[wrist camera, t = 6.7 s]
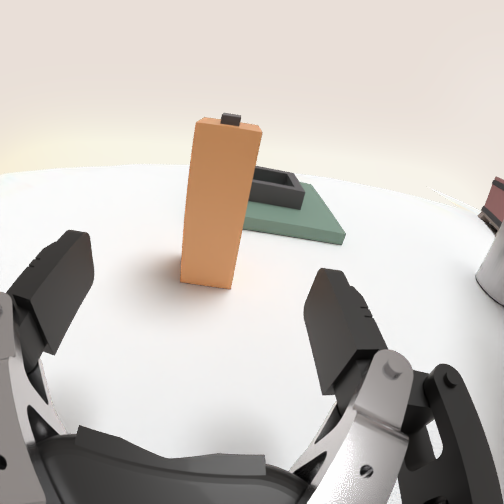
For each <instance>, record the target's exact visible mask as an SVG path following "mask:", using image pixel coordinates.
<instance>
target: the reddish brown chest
mask: <svg viewBox="0 0 504 504" xmlns="http://www.w3.org/2000/svg"><path fill="white" fill-rule="evenodd" d="M481 211H482V212H481V213H480V214H479V215H478V217H479V218H480V219H482V220H483V221H485V222H487V223H489V222H490V223H491V224H492V225H493V226H494V227H495V228H496V229H497V230H498V231H499V229H500V227H501V224H502V222H503V220H504V180H503V179H500V178H498V177H495V180H493V182H492V187H491V190H490V193H489V195H488V198H487V201H486V203H485V206H483V207H482V209H481ZM498 231H497V233H498ZM497 233H496V234H495V237H496V235H497Z"/></svg>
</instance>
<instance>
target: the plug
mask: <svg viewBox="0 0 504 504" xmlns="http://www.w3.org/2000/svg"><path fill="white" fill-rule="evenodd" d="M240 120H241V115H235V114H228V113H223V114H222V117H221V119H214V118H206V117H204V118H202V119H201V120H199V121H197V122H196V125H195V132H194V139H193V146H192V153H191V161H190V169H189V178H188V187H187V196H186V206H185V217H184V229H183V243H182V258H181V277H180V282H182V283H189V284H196V285H203V286H211V287H218V288H226V289H231V285H232V280H233V275H234V270H235V265H236V260H237V254H238V249H239V244H240V239H241V234H242V229H243V224H244V219H245V214H246V209H247V204H248V199H249V194H250V190H251V185H252V180H253V175H254V170H255V165H256V161H257V155H258V151H259V146H260V141H261V137H262V131H261V129H260V128H259V126H258V125H252V124H247V123H241V122H240Z"/></svg>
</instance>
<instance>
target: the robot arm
mask: <svg viewBox="0 0 504 504" xmlns="http://www.w3.org/2000/svg"><path fill="white" fill-rule="evenodd" d="M35 258H36V259H34V260H33V261H32V262H31V263H30V264H29V267H27V268H26V269H25V270H24V271H23V272H22V274H21V275H20V276H19V277H18V278H17V280H16V281H15V282H14V283H13V285H12V286H11V287H10V288H9V290H8V291H7V292H6V293H3V292H0V504H387V501H388V499H389V497H390V494H391V492H392V489H393V487H394V484H395V482H396V479H397V477H398V482H399V488H400V493H401V499H402V504H503V499H502V494H501V489H500V484H499V480H498V476H497V472H496V468H495V465H494V461H493V457H492V454H491V451H490V448H489V445H488V442H487V439H486V436H485V433H484V430H483V427H482V424H481V422H480V419H479V416H478V414H477V411H476V409H475V406H474V404H473V402H472V399H471V397H470V395H469V392H468V390H467V388H466V386H465V383H464V381H463V379H462V377H461V375H460V374H459V373H458V371H457V370H456V369H455V368H453V367H452V366H450V365H447V364H439V365H437V366H436V367H435V368H434V370H433V371H432V372H431V373H430V374H428V373H424V372H419V371H415V370H413V369H412V367H411V365H410V363H409V362H408V360H407V359H406V358H405V357H404V356H402V355H401V354H400V353H398V352H396V351H393V350H388V348H387V346H386V343H385V341H384V339H383V337H382V335H381V333H380V331H379V328H378V326H377V324H376V322H375V320H374V318H372V314H371V312H370V310H369V309H368V306H367V304H366V302H365V300H364V298H363V296H362V295H361V294H360V293H359V292H358V291H357V290H356V289H355V288H354V287H353V286H350V285H349V283H348V281H347V279H346V277H345V275H344V273H343V272H342V271H339V270H332V269H325V268H321V269H319V271H318V272H317V275H316V277H315V280H314V282H313V285H312V287H311V289H310V292H309V294H308V297H307V299H306V302H305V305H304V321H305V324H306V328H307V332H308V336H309V340H310V345H311V349H312V353H313V357H314V361H315V365H316V369H317V374H318V378H319V382H320V387H321V391H322V395H335V396H336V400H337V401H336V402H335V403H334V404H333V406H332V408H331V410H330V411H329V413H328V415H327V417H326V418H325V420H324V422H323V424H322V425H321V427H320V429H319V430H318V432H317V434H316V435H315V437H314V439H313V440H312V442H311V443H310V445H309V446H308V448H307V449H306V450H305V452H304V453H303V454H302V455H301V456H300V457H299V458H298V459H297V461H296V462H295V463H294V464H293V466H292V467H291V468H290V470H289V471H286V470H284V469H281V468H279V467H275V466H272V465H269V464H265V455H238V454H219V453H217V454H210V455H203V456H194V457H185V458H164V457H161V456H159V455H156V454H154V453H152V452H149V451H147V450H145V449H143V448H141V447H138V446H136V445H134V444H132V443H130V442H128V441H126V440H124V439H122V438H120V437H116V436H113V435H109V434H106V433H102V432H99V431H96V430H92V429H89V428H86V427H83V426H81V425H79V427H78V431H77V434H67V432H66V430H65V428H64V426H63V424H62V422H61V420H60V419H59V417H58V415H57V413H56V411H55V409H54V406H53V402H52V399H51V396H50V392H49V389H48V385H47V381H46V377H45V373H44V369H43V364H42V361H41V359H40V356H41V354H42V352H43V351H44V352H46V353H49V354H52V355H55V354H56V352H57V350H58V348H59V345H60V343H61V341H62V339H63V337H64V335H65V333H66V331H67V330H68V328H69V326H70V324H71V322H72V320H73V318H74V316H75V314H76V313H77V311H78V309H79V307H80V305H81V304H82V302H83V300H84V298H85V297H86V295H87V293H88V291H89V290H90V288H91V286H92V284H93V280H94V265H93V258H92V250H91V242H90V236H89V234H88V233H86V232H80V231H74V230H67V231H66V232H65V233H64V234H63V235H62V236H61V237H60V238H59V239H58V241H57V242H54V243H52V244H50V245H49V246H47V247H45V248H44V249H43V250H42V251H41V252H40V253H39V254H38V255H37V256H36V257H35ZM476 278H477V280H478V282H479V284H480V285H481V286H482V288H483V289H484V290H485V291H486V292H487V293H488V294H489V295H490V296H491V297H492V298H493V299H495V300H496V301H497V302H499V303H500V304H502V305H504V220H503V222H502V224H501V227H500V229H499V231H498V233H497V235H496V237H495V239H494V242H493V244H492V246H491V248H490V250H489V252H488V253H487V255H486V257H485V259H484V261H483V263H482V264H481V266H480V268H479V270H478V272H477V274H476ZM434 419H435V421H436V425H437V428H438V431H439V434H440V437H441V440H442V444H443V451H442V454H441V455H440V457H439V458H438V459H436V458H435V455H434V452H433V448H432V445H431V441H430V438H429V434H428V431H427V428H426V425H427V424H429V423H430V422H431V421H433V420H434Z"/></svg>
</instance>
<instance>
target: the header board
mask: <svg viewBox="0 0 504 504" xmlns="http://www.w3.org/2000/svg"><path fill="white" fill-rule="evenodd" d="M243 229H246V230H253V231H259V232H266V233H272V234H279V235H285V236H291V237H297V238H304V239H310V240H316V241H322V242H328V243H334V244H340V245H342V243H343V241H344V238H345V235H346V233H345V232H344V230H343V229H342V227H341V226H340V224H339V223H338V222H337V220H336V219H335V217H334V216H333V214H332V213H331V211H330V210H329V208H328V207H327V206H326V204H325V203H324V201H323V200H322V199H321V197H320V196H319V194H318V193H317V192H316V190H315V189H314V187H313V186H312V185H311V184H307V183H302V182H299V181H298V179H297V178H296V176H295V175H294V173H290V172H285V171H280V170H274V169H269V168H264V167H259V166H255V170H254V175H253V180H252V185H251V190H250V194H249V199H248V204H247V209H246V214H245V219H244V224H243Z"/></svg>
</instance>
